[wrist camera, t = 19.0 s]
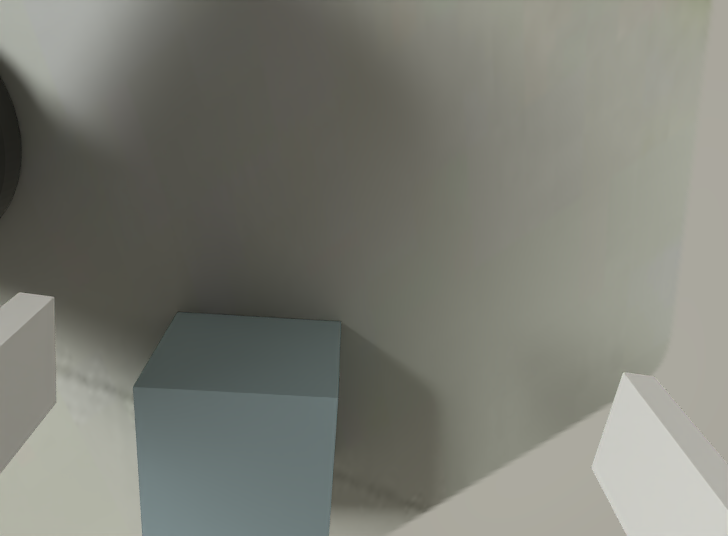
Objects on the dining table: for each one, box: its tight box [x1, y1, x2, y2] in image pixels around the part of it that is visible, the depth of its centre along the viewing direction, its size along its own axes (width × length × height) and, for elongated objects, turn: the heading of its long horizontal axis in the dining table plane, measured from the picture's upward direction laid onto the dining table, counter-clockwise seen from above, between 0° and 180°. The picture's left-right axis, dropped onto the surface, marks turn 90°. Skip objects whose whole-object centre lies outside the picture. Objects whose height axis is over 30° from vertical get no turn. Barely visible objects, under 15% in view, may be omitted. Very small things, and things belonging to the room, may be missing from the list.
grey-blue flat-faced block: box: [133, 312, 341, 536], centre depth 38 cm, size 10×10×9 cm
